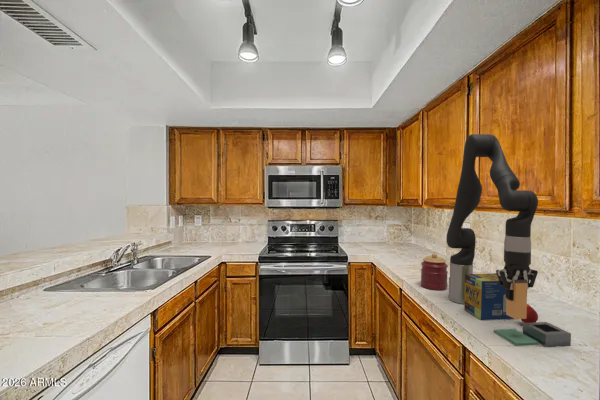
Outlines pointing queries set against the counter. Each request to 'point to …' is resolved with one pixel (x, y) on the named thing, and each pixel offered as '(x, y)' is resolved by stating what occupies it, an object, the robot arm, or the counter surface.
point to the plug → (518, 300)
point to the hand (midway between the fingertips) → (516, 299)
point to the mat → (515, 337)
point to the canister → (434, 273)
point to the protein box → (485, 297)
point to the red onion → (530, 315)
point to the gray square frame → (547, 334)
